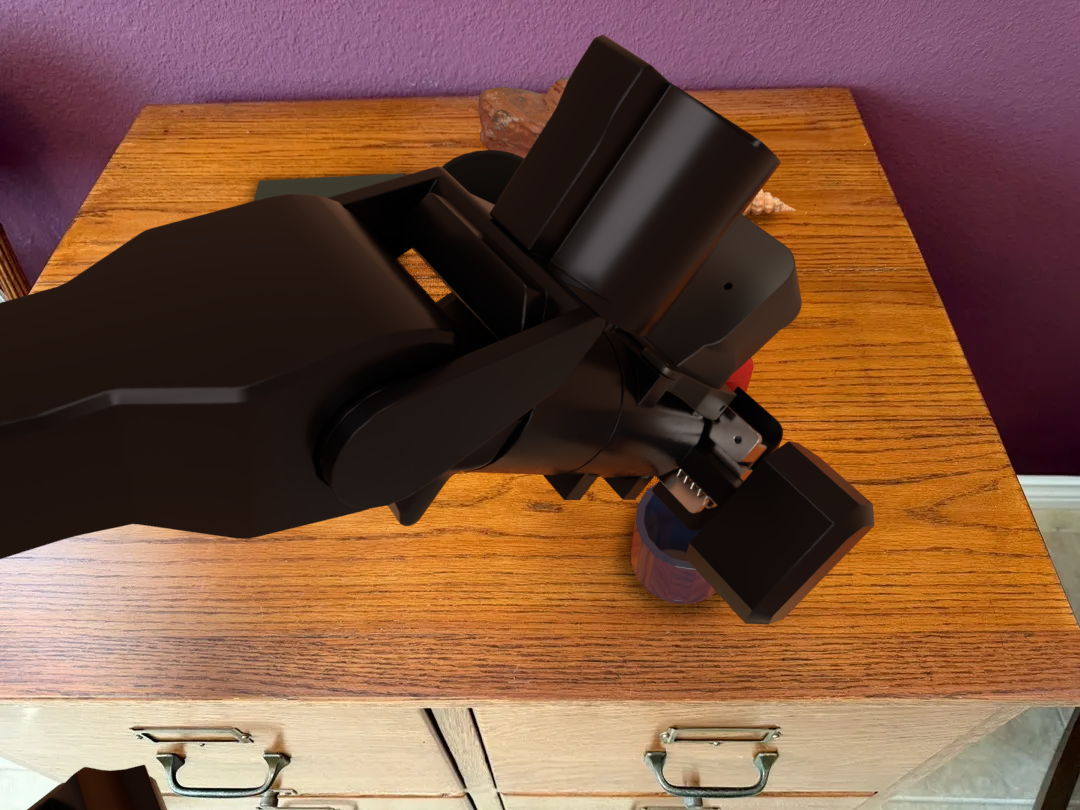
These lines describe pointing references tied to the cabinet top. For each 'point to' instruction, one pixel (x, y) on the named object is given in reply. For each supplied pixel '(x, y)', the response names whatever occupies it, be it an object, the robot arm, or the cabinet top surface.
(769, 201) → the spiral conch shell
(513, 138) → the stone
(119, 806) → the robot arm
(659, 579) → the pen pot
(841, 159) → the cabinet top surface
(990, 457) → the cabinet top surface
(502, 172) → the cup
